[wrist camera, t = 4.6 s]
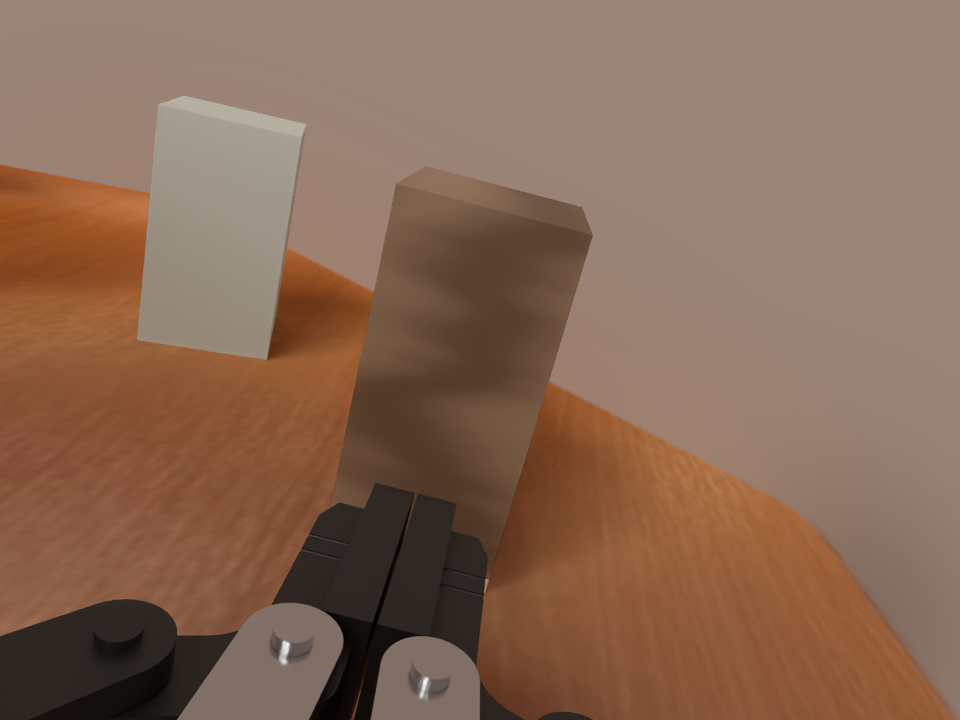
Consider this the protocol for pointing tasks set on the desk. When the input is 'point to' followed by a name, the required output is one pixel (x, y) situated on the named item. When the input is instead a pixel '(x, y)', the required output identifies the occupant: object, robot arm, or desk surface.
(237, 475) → the desk surface
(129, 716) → the robot arm
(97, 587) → the desk surface
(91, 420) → the desk surface
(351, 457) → the walnut wood block
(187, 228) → the grey block
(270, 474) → the desk surface
